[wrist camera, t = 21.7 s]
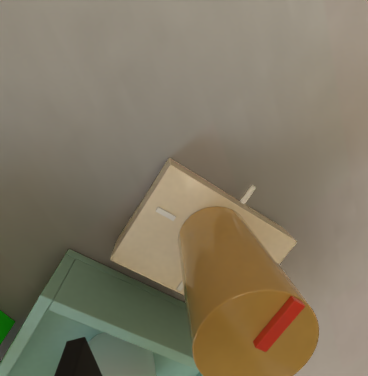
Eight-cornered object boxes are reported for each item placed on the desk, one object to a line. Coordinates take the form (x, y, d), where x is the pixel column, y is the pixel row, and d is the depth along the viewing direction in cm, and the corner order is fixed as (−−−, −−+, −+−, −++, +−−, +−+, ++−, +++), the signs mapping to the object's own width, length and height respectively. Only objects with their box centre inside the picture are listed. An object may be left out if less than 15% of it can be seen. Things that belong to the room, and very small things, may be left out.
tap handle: (223, 282, 20) (271, 413, 11) (163, 253, 18) (167, 375, 10) (264, 227, 19) (350, 327, 10) (203, 192, 17) (245, 273, 9)
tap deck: (115, 242, 21) (109, 261, 18) (181, 137, 19) (185, 141, 16) (226, 297, 23) (234, 321, 21) (295, 210, 21) (313, 224, 19)
